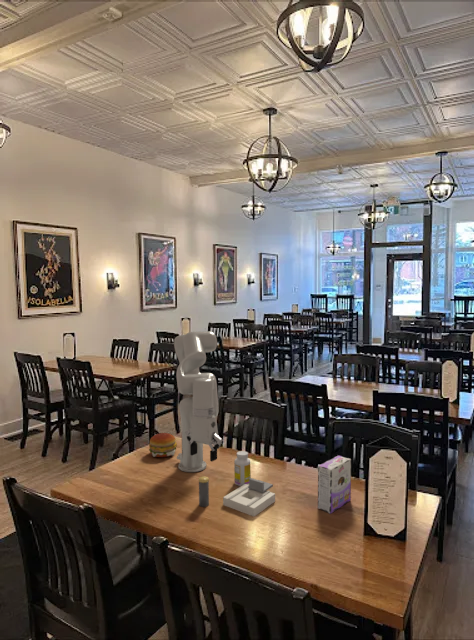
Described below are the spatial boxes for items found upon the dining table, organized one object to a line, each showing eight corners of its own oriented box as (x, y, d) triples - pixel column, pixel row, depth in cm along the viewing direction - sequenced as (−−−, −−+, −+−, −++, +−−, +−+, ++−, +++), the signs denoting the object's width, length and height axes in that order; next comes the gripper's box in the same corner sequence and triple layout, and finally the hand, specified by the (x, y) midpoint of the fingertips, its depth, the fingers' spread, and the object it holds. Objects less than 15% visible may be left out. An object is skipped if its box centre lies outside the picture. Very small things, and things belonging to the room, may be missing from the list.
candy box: (337, 495, 171) (338, 454, 170) (351, 501, 167) (351, 458, 166) (316, 508, 162) (317, 464, 161) (330, 514, 158) (331, 469, 156)
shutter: (248, 488, 171) (248, 478, 170) (258, 481, 176) (258, 472, 176) (262, 493, 167) (262, 483, 166) (272, 486, 172) (272, 476, 172)
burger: (163, 447, 224) (162, 427, 223) (183, 452, 216) (182, 432, 216) (143, 455, 213) (142, 435, 213) (163, 461, 205) (163, 440, 205)
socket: (223, 505, 164) (223, 496, 164) (245, 491, 176) (245, 483, 175) (254, 516, 156) (254, 507, 156) (275, 501, 167) (275, 492, 167)
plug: (196, 505, 164) (196, 479, 164) (203, 501, 167) (203, 475, 167) (204, 508, 162) (204, 481, 161) (210, 504, 165) (210, 478, 164)
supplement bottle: (251, 480, 185) (251, 450, 184) (250, 487, 179) (250, 456, 178) (235, 479, 186) (235, 449, 185) (233, 486, 180) (233, 455, 179)
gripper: (228, 413, 160) (228, 459, 161) (192, 406, 170) (193, 449, 171) (214, 418, 154) (215, 466, 155) (179, 410, 164) (179, 455, 165)
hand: (203, 457), depth 163 cm, fingers open, 9 cm apart
